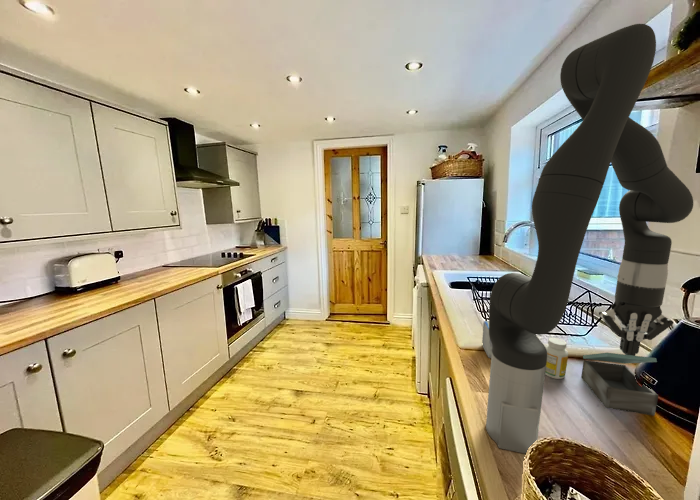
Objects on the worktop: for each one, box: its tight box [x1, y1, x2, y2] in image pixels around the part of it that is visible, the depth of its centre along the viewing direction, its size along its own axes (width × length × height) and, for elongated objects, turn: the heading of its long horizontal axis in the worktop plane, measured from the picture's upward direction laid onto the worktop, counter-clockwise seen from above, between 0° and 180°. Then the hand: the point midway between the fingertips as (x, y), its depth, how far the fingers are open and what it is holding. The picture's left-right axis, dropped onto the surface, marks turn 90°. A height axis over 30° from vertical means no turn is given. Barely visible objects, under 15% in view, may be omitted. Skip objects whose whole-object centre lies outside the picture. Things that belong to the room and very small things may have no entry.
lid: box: [582, 352, 658, 365], centre depth 72 cm, size 12×9×1 cm
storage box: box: [580, 359, 659, 417], centre depth 71 cm, size 12×9×5 cm
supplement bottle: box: [544, 337, 569, 380], centre depth 80 cm, size 5×5×10 cm
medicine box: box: [481, 320, 492, 359], centre depth 91 cm, size 8×4×9 cm, turn 168°
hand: (628, 353), depth 67 cm, fingers closed
